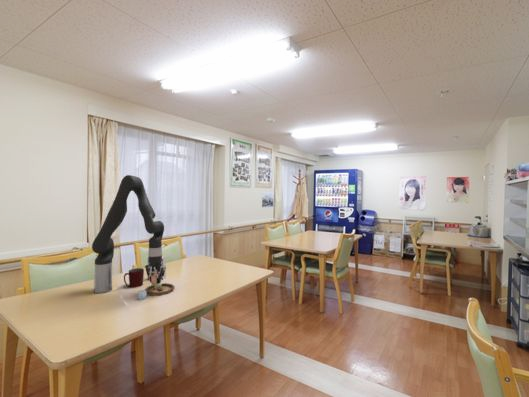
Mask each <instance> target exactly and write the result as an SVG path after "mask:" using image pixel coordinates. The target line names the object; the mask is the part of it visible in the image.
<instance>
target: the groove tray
mask: <svg viewBox="0 0 529 397" xmlns="http://www.w3.org/2000/svg"><path fill="white" fill-rule="evenodd" d="M144 290H145V291H146V296H152V297H155V296H156V297H157V296H164V295H168V294H170V293H172V292H174V291H175V285H174V284H173V283H167V282H164V283H163V282H162V287H159V288H158V290H155V289H154V285H152V284H151V285H149V286H147V287H145V289H144Z"/></svg>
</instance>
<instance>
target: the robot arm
mask: <svg viewBox="0 0 529 397" xmlns="http://www.w3.org/2000/svg"><path fill="white" fill-rule="evenodd" d="M131 192H134V194H135V196H136V198H137V200H138V202H137V203H138V204H137V205H138V206H137V207H138V210H139V212H140V214H141V216H142V218H143V222H144V227H145V230H146V232H147V233H148V234H149V235H153V236H151V237H149V239H148V257H147V263H148V262H149V265H148V264H146V265H145V266H144V268H145V273H146V275H147V276H148V275H149V276H150V280H149V282H150V284H151V275H153V274H154V272H155V274H156V275H157V284H159V283H160V282H161V277H162V276H164V273H165V269H166V270H167V267H163V266H162V265H161V262H162V257H163V248H162V242H163V241H162V240H163V237H164V232H165V225H164V222H163V221H161V220H156V221H155V220H154V219H155V217H156V212H155V211H154V208H153V207H152V204H151V203H150V201H149V197H148V196H147V192H146V188H145V186H144V182H143V180H142V179H141V178H140V177H139V176H137V175H136V176H135V175H132V174H131V175H130V174H127V175H125V176H123V178H122V179H121V180H120V184H119V186H118V190H117V193H116V196H115V198H114V199H113V201H112V204H111V207H110V208H109V210H108V213H107V215H106V217H105V219H104V221H103V224H102V226H101V228H100V230H99V232H98V233H97V235H96V237H95V238H94V240H93V242H92V244H91V249H92V251H93V252H94V253H95V254H97V256H96V258H95V259H94V276H93V283H94V284H93V288H94V289H93V291H94V294H103V293H104V294H105V293H108V292H111V291H112V290H113V259H114V252H115V243H114V239H113V238H112V236H113V234H114V232H116V230H117V229H118V228H119V227H120V225H121V224H122V223H123V221H124V219H125V217H126V215H127V212H128V202H127V201H128V198H129V195H130V194H131ZM148 271H149V272H148ZM158 271H159V272H158Z"/></svg>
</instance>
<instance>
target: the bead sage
mask: <svg viewBox="0 0 529 397" xmlns="http://www.w3.org/2000/svg"><path fill="white" fill-rule="evenodd" d="M162 281H163V280H161V282H160V283H159V284H156V285H154V289H155V290H158V288H159V287H162V283H163V282H162Z"/></svg>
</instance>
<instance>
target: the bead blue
mask: <svg viewBox="0 0 529 397" xmlns="http://www.w3.org/2000/svg"><path fill="white" fill-rule="evenodd" d="M146 299H147V294H146V291H145V289H144V290H143V289H142V290H139V291H138V292H137V300H139V301H144V300H146Z"/></svg>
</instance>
